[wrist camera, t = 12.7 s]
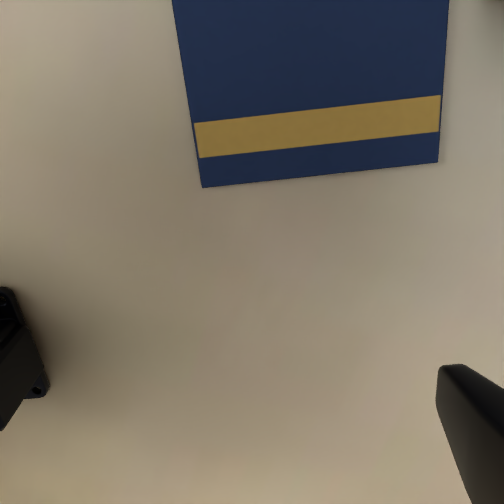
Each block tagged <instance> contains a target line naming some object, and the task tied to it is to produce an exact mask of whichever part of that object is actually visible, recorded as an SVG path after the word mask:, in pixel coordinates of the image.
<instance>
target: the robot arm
mask: <svg viewBox="0 0 504 504" xmlns="http://www.w3.org/2000/svg"><path fill="white" fill-rule="evenodd" d="M0 296H2V297H4V298H5V300H6V301H5V300H2V299H1V298H0V431H2V430H3V429H4V428H5V427H6V425H7V424H8V422H9V421H10V419H11V418H12V416H13V415H14V413H15V412H16V410H17V409H18V407H19V406H20V404H21V402H22V401H23V399H32V398H41V397H44V396H45V395H46V393H47V392H48V390H49V388H50V386H49V382H48V380H47V377H46V375H45V372H44V366H43V364H42V361H41V358H40V356H39V353H38V351H37V348H36V345H35V343H34V340H33V338H32V335H31V332H30V330H29V329H28V327H27V326H26V323H25V320H24V318H23V315H22V313H21V310H20V308H19V305H18V302H17V300H16V297H15V295H14V293H13V292H12V291H11V290H10V289H8V288H6V287H0ZM37 387H39V388H40V389H39V388H37ZM436 407H437V411H438V415H439V417H440V420H441V423H442V426H443V428H444V431H445V434H446V437H447V439H448V442H449V445H450V448H451V450H452V453H453V456H454V459H455V461H456V464H457V467H458V470H459V472H460V475H461V478H462V481H463V483H464V486H465V488H466V491H467V494H468V496H469V498H470V500H471V502H472V504H504V389H503V388H501V387H500V386H498V385H496V384H495V383H493V382H492V381H490V380H488V379H487V378H485V377H484V376H482V375H480V374H479V373H477V372H476V371H474V370H472V369H471V368H469V367H468V366H466V365H463V364H452V365H443V366H441V367H440V368H439V371H438V378H437V390H436Z"/></svg>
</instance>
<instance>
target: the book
mask: <svg viewBox="0 0 504 504" xmlns="http://www.w3.org/2000/svg"><path fill="white" fill-rule="evenodd" d="M172 5H173V12H174V18H175V24H176V30H177V36H178V43H179V49H180V55H181V61H182V67H183V73H184V80H185V86H186V92H187V98H188V104H189V111H190V117H191V123H192V129H193V135H194V141H195V148H196V154H197V160H198V166H199V172H200V179H201V185H202V188H207V187H216V186H225V185H234V184H244V183H253V182H262V181H271V180H280V179H290V178H299V177H308V176H317V175H327V174H336V173H345V172H354V171H364V170H373V169H382V168H391V167H401V166H410V165H419V164H428V163H437V162H438V154H439V140H440V126H441V111H442V97H443V82H444V68H445V53H446V39H447V24H448V10H449V0H172Z"/></svg>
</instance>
